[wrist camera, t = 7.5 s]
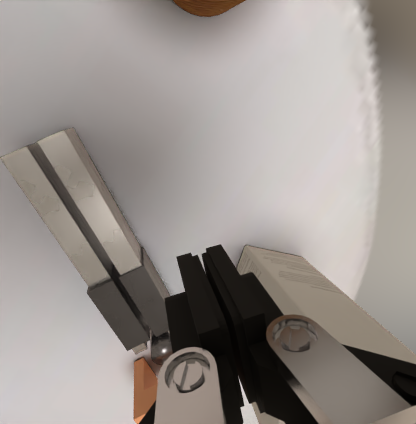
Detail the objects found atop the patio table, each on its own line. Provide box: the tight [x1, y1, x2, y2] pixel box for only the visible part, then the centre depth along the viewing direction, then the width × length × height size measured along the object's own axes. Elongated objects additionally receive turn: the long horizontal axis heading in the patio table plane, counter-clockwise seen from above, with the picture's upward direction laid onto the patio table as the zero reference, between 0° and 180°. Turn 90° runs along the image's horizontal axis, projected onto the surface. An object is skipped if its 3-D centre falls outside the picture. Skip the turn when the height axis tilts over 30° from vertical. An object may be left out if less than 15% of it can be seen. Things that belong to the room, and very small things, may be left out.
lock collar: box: [134, 358, 158, 424], centre depth 25 cm, size 3×7×5 cm, turn 112°
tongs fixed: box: [0, 142, 173, 365], centre depth 22 cm, size 19×3×3 cm, turn 22°
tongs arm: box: [37, 128, 170, 337], centre depth 21 cm, size 17×2×3 cm, turn 22°
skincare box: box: [237, 245, 416, 424], centre depth 20 cm, size 8×7×16 cm
